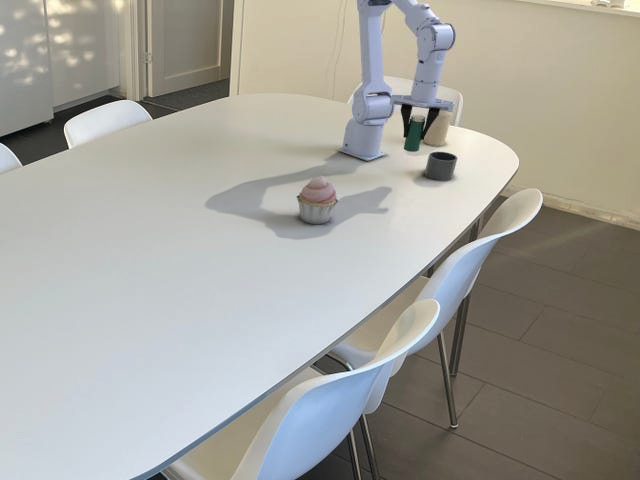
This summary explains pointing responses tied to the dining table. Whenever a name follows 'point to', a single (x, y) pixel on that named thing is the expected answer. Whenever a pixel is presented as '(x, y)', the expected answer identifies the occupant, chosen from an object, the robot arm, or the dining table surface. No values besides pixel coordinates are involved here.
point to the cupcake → (317, 201)
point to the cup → (440, 165)
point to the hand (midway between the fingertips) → (413, 137)
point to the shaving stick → (414, 133)
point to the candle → (438, 129)
